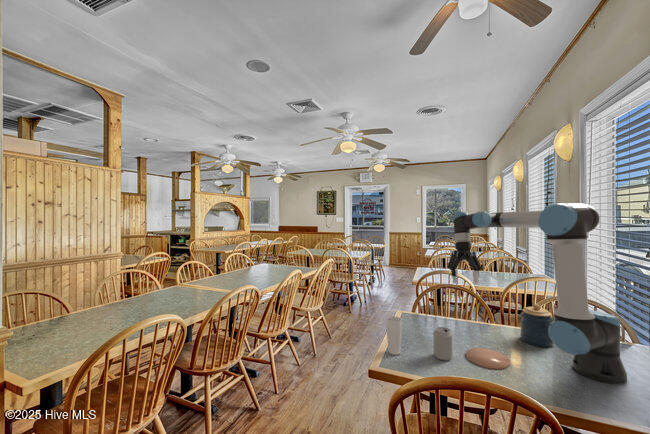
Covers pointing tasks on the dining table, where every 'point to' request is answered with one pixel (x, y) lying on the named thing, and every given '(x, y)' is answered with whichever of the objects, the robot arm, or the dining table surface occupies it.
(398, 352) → the drinking glass
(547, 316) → the canister
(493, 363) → the terracotta plate
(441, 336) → the can
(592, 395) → the dining table surface
